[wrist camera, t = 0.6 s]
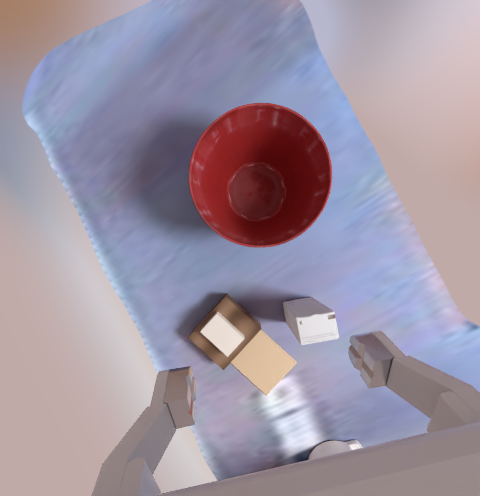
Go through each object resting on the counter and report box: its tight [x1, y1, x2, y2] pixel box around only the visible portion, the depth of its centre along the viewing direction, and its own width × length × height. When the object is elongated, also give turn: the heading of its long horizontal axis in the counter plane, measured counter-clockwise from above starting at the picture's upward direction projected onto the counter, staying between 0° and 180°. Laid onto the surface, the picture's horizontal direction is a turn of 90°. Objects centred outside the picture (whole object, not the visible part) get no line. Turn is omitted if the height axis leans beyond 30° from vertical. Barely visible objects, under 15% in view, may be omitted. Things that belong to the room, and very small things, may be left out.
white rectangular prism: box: [200, 312, 244, 357], centre depth 56 cm, size 9×6×2 cm, turn 48°
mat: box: [231, 330, 297, 395], centre depth 60 cm, size 14×12×1 cm
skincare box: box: [283, 297, 339, 345], centre depth 53 cm, size 8×6×15 cm
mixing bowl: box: [189, 103, 332, 247], centre depth 52 cm, size 28×28×15 cm
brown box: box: [188, 294, 261, 370], centre depth 59 cm, size 12×14×4 cm
